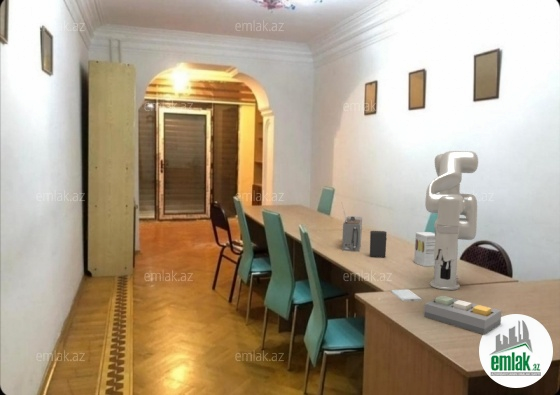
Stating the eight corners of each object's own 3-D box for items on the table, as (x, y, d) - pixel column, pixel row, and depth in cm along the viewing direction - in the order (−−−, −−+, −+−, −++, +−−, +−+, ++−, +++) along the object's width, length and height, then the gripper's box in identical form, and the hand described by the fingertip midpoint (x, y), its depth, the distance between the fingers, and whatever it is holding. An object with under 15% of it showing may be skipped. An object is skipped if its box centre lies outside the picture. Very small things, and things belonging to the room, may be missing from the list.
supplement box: (413, 262, 249) (414, 232, 247) (427, 261, 252) (429, 231, 250) (424, 266, 240) (425, 235, 238) (438, 265, 243) (440, 234, 241)
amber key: (477, 311, 162) (478, 304, 162) (491, 315, 159) (491, 308, 159) (472, 314, 159) (472, 307, 159) (485, 318, 156) (486, 311, 156)
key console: (442, 307, 177) (442, 295, 177) (500, 324, 162) (501, 310, 161) (424, 316, 168) (424, 303, 167) (484, 334, 152) (485, 320, 151)
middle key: (458, 306, 168) (459, 300, 167) (471, 309, 164) (471, 303, 164) (453, 309, 164) (453, 302, 164) (465, 312, 161) (466, 306, 161)
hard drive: (390, 290, 196) (403, 299, 184) (408, 289, 198) (422, 298, 186) (390, 293, 197) (403, 303, 184) (408, 292, 198) (422, 302, 186)
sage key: (441, 301, 173) (441, 295, 172) (452, 304, 169) (453, 298, 169) (435, 304, 169) (435, 298, 169) (446, 307, 166) (447, 301, 166)
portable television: (361, 244, 296) (363, 198, 293) (359, 252, 273) (361, 202, 270) (343, 243, 299) (344, 197, 296) (339, 250, 276) (341, 201, 273)
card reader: (385, 256, 262) (386, 230, 261) (386, 258, 259) (387, 232, 257) (369, 255, 264) (370, 230, 262) (369, 257, 260) (370, 231, 259)
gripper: (447, 226, 174) (445, 273, 175) (428, 230, 164) (425, 280, 165) (466, 229, 169) (464, 277, 170) (448, 232, 158) (445, 284, 160)
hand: (445, 278), depth 168 cm, fingers closed
